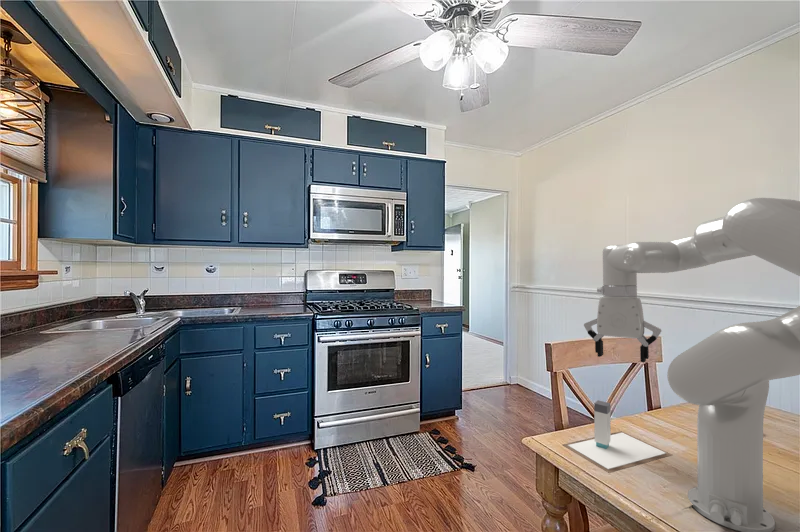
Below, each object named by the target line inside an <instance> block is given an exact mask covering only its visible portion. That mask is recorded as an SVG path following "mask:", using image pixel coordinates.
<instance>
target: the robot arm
mask: <svg viewBox="0 0 800 532" xmlns="http://www.w3.org/2000/svg"><path fill="white" fill-rule="evenodd" d="M602 249H603V250H602V284H603V285H602V286H600V287H597V288H596V293H599V294H602V296H601V297H599V301H598V304H597V305H598V306H597V318H595V319H592V320H590V321H587V322H585V323H584V324H583V327H584V328H585V330H586V331H587V334H588V335H589V336H590V337H591V338H592V340H593V341H594V346H595V347H594V349H595V351H594V353H597V357H599V358H601V357H602V356H604V340H602V338H603V337H604V336H605V337H613V338H614V337H615V338H624V339H625V338H626V339H636V340H637V341H638V342H640V343H641V345H640V347H639V349H640V351H639V353H640V354H639V355H640V363H646V360H649V346H651V344H653V343H654V342H656V340H657V339H658V337H659V336H660V335H661V333H662V332H663V331H662V329H661V328H659V327H658V326H655V325H654V324H652V323H651V322H650V323H649V322H647V321H646V320H644V319H645V318H644V311H643V305H642V301H641V298H640V297H638V286H637V285H638V283H637V282H638V280H637V279H638V277H637V274H665V273H666V274H669V273H675V272H680V271H686V270H692V269H697V268H701V267H707V266H710V265H714V264H717V263H720V262H725V261H731V260H735V259H741V258H746V257H751V256H756V257H757V258H760V259H761V260H764V261H766V262H768V263H770V264H772V265H774V266H776V267H779V268H781V269H783V270H785V271H787V272H789V273H792V274H794V275H796V276H798V277H800V200H796V199H790V198H789V199H788V198H773V197H754V198H750V199H746V200H744V201H741V202H740V203H737V204H735V205H734V206H733V207H731V208H730V209H729V210H728V211H727V212H726V213H725V215H724V216H722V217H718V218H714V219H711V220H708V221H704V222H702V223H700V224H699V225H698V226H697V227H696V228H695V229H694V233H693V235H690V236H688V237H685V238H684V237H683V238H680V239H675V240H673V241H672V240H671V241H666V242H665V241H634V242H629V243H626V244H612V245H607V246H605V247H604V248H602ZM594 325H596V331H597V333H596V331H594V330H593V328H592V326H594ZM645 329H646V330H647V329H648V330H649V331H652V334H651V336H649V337H648V338H647V337H646V336H645V335H644V334H645ZM666 375H667V381H668V385H669V386H670V389H671V391H673V393H674V394H675V395H676V396H678V397H679V399H682V400H684V401H685V402H687V403H690V404H693V405H697V406H698V410H697V429H696V430H697V439H696V441H697V442H696V443H697V448H696V450H697V454H696V455H697V467H696V469H697V486H695V487H692V488H690V489H689V490H688V491H687V498H688V500H689V502H690V503H691V507H692V508H693V509H695V511H697V513H699V514H700V515H702V516H704V517H706V518H707V519H709V520H710V521H712V522H715V524H718V525H721V526H723V527H726V528H727V529H730V530H735V531H737V532H773V531H774V530H775V529H776V521H775V519H774V517H773V515H772V514H771V513H770V512H769V511H768V510H767V509H765V508H764V459H763V458H764V420H765V419H764V418H765V409H766V404H767V401H768V395H769V391H770V381H773V380H779V379H785V378H790V377H791V378H792V377H796V376H800V305H798V306H796V307H795V308H793V309H791V310H789V311H787V312H785V313H784V314H781V315H779V316H778V317H775V318H773V319H768V320H767V319H766V320H763V321H762V320H761V321H749V322H740V323H735V324H732V325H728V326H726V327H723V328H722V329H720V330H718V331H716V332H714V333H712V334H711V335H709V336H707V337H705V338H704V339H702V340H700V341H699V342H698V343H696V344H694V345H693V346H691V347H689V348H688V349H686V350H685V351H684V350H683V352H681V353H680V354H678V355H677V356H676V357H674V359H673V360H672V361H671V362H670V364H669V365H668V368H667V374H666Z"/></svg>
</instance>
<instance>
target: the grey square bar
mask: <svg viewBox="0 0 800 532" xmlns="http://www.w3.org/2000/svg"><path fill="white" fill-rule="evenodd" d="M593 406H594V409H593V410H594V413H593V414H594V424H593V426H594V427H593V428H594V435H593V436H594V437H595V442H596V446H598V447H601V448H604V449H607V448H608V447H609V443H610V441H611V433H612V431H611V430H612V429H611V428H612V427H611V421H612V420H611V416H612V415H611V403H610V402H606V401H603V400H596V402H594V405H593Z"/></svg>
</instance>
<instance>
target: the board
mask: <svg viewBox="0 0 800 532" xmlns="http://www.w3.org/2000/svg"><path fill="white" fill-rule="evenodd" d="M618 433H624V434H626V435H629V436H631V437H633V438H635V439H637V440H639V441H641V442H644V443H646V444H648V445H650V446H652V447H654V448H657V449H659V450H661V451H663V452H665V453H666V454H663V455H660V456H656V457H652V458H649V459H645V460H642V461H638V462H634V463H631V464H627V465H623V466H620V467H616V468H612V469H609V470H608V469H606V468H604V467H603V466H601V465H599V464H598V463H596V462H594V461H593V460H591V459H589V458H587V457H586V456H584V455H582V454H581V453H579V452H577V451H576V450H574V449H572V448H571V447H569V446H568V445H570V444H574V443H579V442H583V441H587V440H592V439H595V436H594V437H590V438H586V439H581V440H577V441H572V442H568V443H564V444H562V446H563V447H564V448H566V449H568V450H569V451H571V452H573V453H575V455H578V456H579V457H581V458H583V459H584V460H586V461H588V462H590V463H591V464H593V465H594V466H596V467H598V468H600V469H601V470H603V471H604V472H607V473H608V474H610V473H614V472H617V471H621V470H625V469H629V468H632V467H636V466H639V465H642V464H647V463H649V462H653V461H656V460H660V459H664V458H668V457H672V456H673V454H672V453H670V452H668V451H665V450H664V449H661V448H659V447H657V446H655V445H652V444H650V443H648V442H646V441H645V440H641V439H640V438H637V437H635V436H632V435H631V434H629V433H626V432H624V431H622V430H621V431H617V432H611V435H614V434H618Z"/></svg>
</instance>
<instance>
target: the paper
mask: <svg viewBox="0 0 800 532" xmlns="http://www.w3.org/2000/svg"><path fill="white" fill-rule="evenodd" d="M624 433H625V432H624ZM624 433H618V434H614V435H611V441H610V443H609V447H608V448H607V449H604V448H601V447H598V446H596V442H595V439H592V440H587V441H583V442H579V443H574V444H570V445H568V446H569V447H571V448H572V449H574V450H576V451H577V452H579V453H581V454H582V455H584V456H586V457H587V458H589V459H591V460H593V461H594V462H596V463H598V464H599V465H601V466H603V467H604V468H606V469H608V470H609V469H612V468H616V467H620V466H623V465H627V464H631V463H634V462H638V461H642V460H645V459H649V458H652V457H656V456H660V455H663V454H666V453H665V452H663V451H664V450H663V451H661V450H662V449H661V450H659V449H660V448H659V449H657V448H658V447H657V448H654V447H652V446H650V445H651V444H650V445H648V444H649V443H648V444H646V443H647V442H646V443H644V442H645V441H644V442H641V441H639V440H637V439H638V438H637V439H635V438H636V437H635V438H633V437H634V436H633V437H631V436H632V435H631V436H629V435H630V434H629V435H626V434H627V433H626V434H624Z"/></svg>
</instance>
